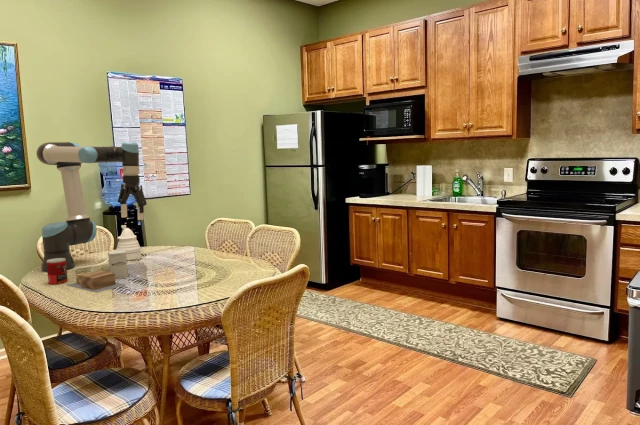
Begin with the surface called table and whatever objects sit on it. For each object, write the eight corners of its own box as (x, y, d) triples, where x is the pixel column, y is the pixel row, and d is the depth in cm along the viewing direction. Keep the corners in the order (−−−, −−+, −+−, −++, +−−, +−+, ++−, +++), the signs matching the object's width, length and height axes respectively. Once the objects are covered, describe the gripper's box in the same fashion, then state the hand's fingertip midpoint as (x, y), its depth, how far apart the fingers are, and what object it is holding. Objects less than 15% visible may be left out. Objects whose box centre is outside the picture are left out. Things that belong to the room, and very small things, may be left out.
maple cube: (76, 283, 220) (75, 274, 219) (85, 281, 223) (84, 272, 222) (81, 284, 217) (80, 275, 217) (90, 282, 221) (89, 273, 220)
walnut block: (81, 286, 214) (80, 275, 213) (102, 281, 222) (101, 270, 222) (94, 289, 208) (93, 278, 208) (115, 284, 217) (114, 273, 216)
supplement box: (111, 280, 225) (109, 253, 224) (109, 277, 232) (107, 251, 230) (128, 278, 229) (126, 251, 227) (126, 275, 235) (124, 249, 234)
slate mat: (65, 286, 218) (65, 285, 217) (95, 279, 229) (95, 277, 229) (96, 294, 204) (96, 292, 204) (126, 286, 216) (126, 284, 215)
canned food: (59, 286, 218) (57, 261, 217) (44, 285, 220) (42, 261, 219) (71, 281, 226) (69, 258, 224) (56, 281, 227) (54, 257, 226)
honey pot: (111, 259, 272) (109, 227, 269) (125, 254, 284) (123, 223, 282) (132, 260, 269) (130, 227, 267) (145, 255, 281) (143, 224, 279)
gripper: (109, 174, 241) (110, 216, 244) (139, 176, 227) (140, 221, 229) (123, 173, 247) (124, 215, 250) (153, 175, 233) (154, 220, 235)
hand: (132, 218), depth 240 cm, fingers open, 13 cm apart
